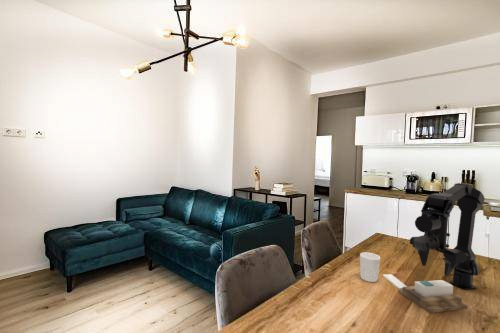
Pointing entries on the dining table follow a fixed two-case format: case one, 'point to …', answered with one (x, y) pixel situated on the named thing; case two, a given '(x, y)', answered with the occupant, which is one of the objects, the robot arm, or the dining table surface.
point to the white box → (433, 288)
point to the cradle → (433, 300)
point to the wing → (394, 281)
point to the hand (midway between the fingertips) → (434, 270)
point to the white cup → (369, 266)
